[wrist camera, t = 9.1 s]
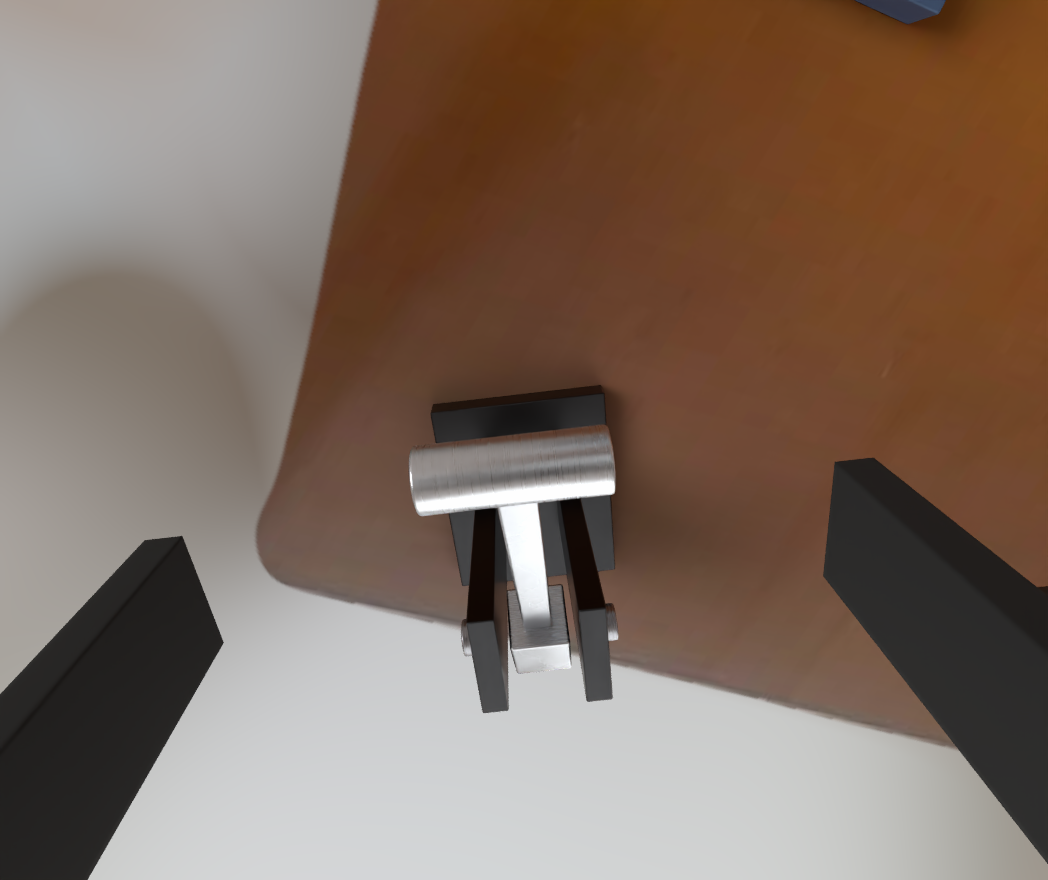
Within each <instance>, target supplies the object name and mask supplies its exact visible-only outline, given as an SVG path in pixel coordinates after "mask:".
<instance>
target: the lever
mask: <svg viewBox="0 0 1048 880" xmlns="http://www.w3.org/2000/svg"><path fill="white" fill-rule="evenodd" d="M409 480H410V488H411V494H412V499H413V503H414V506H415V509H416V511H417V513H418V514H419V515H420V516H427V515H436V514H445V513H454V512H463V511H471V510H480V509H489V508H497V509H498V513H499V518H500V522H501V527H502V532H503V536H504V541H505V545H506V550H507V555H508V559H509V564H510V568H511V573H512V577H513V582H514V587H515V589H513V590H507V608H508V622H509V637H510V649H511V653H512V657H513V660H514V664H515V667H516V671H517V673H519V674H521V673H530V672H539V671H549V670H557V669H567V668H571V650H570V638H569V631H568V623H567V615H566V607H565V599H564V591H563V586H562V585H561V584H558V585H549V586H548V578H547V570H546V561H545V553H544V544H543V536H542V527H541V519H540V510H539V503H543V502H551V501H560V500H569V499H578V498H587V497H596V496H605V495H612V494H614V493H615V489H616V470H615V459H614V452H613V446H612V440H611V436H610V432H609V429H608V427H607V426H606V425H595V426H586V427H577V428H568V429H559V430H551V431H542V432H533V433H524V434H516V435H507V436H498V437H489V438H481V439H472V440H463V441H454V442H445V443H437V444H428V445H419V446H414V447H412V449H411V451H410V456H409Z"/></svg>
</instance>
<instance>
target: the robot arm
mask: <svg viewBox="0 0 1048 880" xmlns="http://www.w3.org/2000/svg"><path fill="white" fill-rule="evenodd" d="M823 576H824V578H825V579H826V580H827V581H828V583H829V584H830V585H831V587H832V588H833V589H834V590H835V592H836V593H837V594H838V596H839V597H840V598H841V599H842V601H843V602H844V603H845V604H846V606H847V607H848V608H849V610H850V611H851V612H852V613H853V615H854V616H855V617H856V619H857V620H858V621H859V622H860V624H861V625H862V626H863V628H864V629H865V630H866V631H867V633H868V634H869V635H870V637H871V638H872V639H873V640H874V642H875V643H876V644H877V646H878V647H879V648H880V649H881V651H882V652H883V653H884V654H885V656H886V657H887V658H888V660H889V661H890V662H891V663H892V665H893V666H894V667H895V669H896V670H897V671H898V672H899V674H900V675H901V676H902V678H903V679H904V680H905V681H906V683H907V684H908V685H909V687H910V688H911V689H912V690H913V692H914V693H915V694H916V696H917V697H918V698H919V699H920V701H921V702H922V703H923V705H924V706H925V707H926V708H927V710H928V711H929V712H930V713H931V715H932V716H933V717H934V719H935V720H936V721H937V722H938V724H939V725H940V726H941V728H942V729H943V730H944V731H945V733H946V734H947V735H948V737H949V738H950V739H951V740H952V742H953V743H954V744H955V746H956V747H957V748H958V749H959V751H960V752H961V753H962V754H963V756H964V757H965V758H966V760H967V761H968V762H969V763H970V765H971V766H972V767H973V769H974V770H975V771H976V772H977V774H978V775H979V776H980V777H981V779H982V780H983V781H984V783H985V784H986V785H987V787H988V788H989V789H990V790H991V792H992V793H993V794H994V795H995V797H996V798H997V799H998V801H999V802H1000V803H1001V804H1002V806H1003V807H1004V808H1005V810H1006V811H1007V812H1008V813H1009V815H1010V816H1011V817H1012V819H1013V820H1014V821H1015V822H1016V824H1017V825H1018V826H1019V828H1020V829H1021V830H1022V831H1023V833H1024V834H1025V835H1026V837H1027V838H1028V839H1029V840H1030V842H1031V843H1032V844H1033V845H1034V847H1035V848H1036V849H1037V850H1038V852H1039V853H1040V855H1041V856H1042V857H1043V858H1044V859H1045V861H1046V862H1047V864H1048V586H1045V587H1036V586H1035V585H1033V584H1032V583H1031V582H1030V581H1028V580H1027V579H1026V578H1025V577H1023V576H1022V575H1021V574H1020V573H1018V572H1017V571H1016V570H1015V569H1013V568H1012V567H1011V566H1009V565H1008V564H1007V563H1006V562H1004V561H1003V560H1002V559H1001V558H999V557H998V556H997V555H996V554H994V553H993V552H992V551H991V550H989V549H988V548H987V547H986V546H984V545H983V544H982V543H980V542H979V541H978V540H977V539H975V538H974V537H973V536H972V535H970V534H969V533H968V532H967V531H965V530H964V529H963V528H962V527H960V526H959V525H958V524H957V523H955V522H954V521H953V520H951V519H950V518H949V517H948V516H946V515H945V514H944V513H943V512H941V511H940V510H939V509H938V508H936V507H935V506H934V505H933V504H931V503H930V502H929V501H928V500H926V499H925V498H924V497H922V496H921V495H920V494H919V493H917V492H916V491H915V490H914V489H912V488H911V487H910V486H909V485H907V484H906V483H905V482H904V481H902V480H901V479H900V478H899V477H897V476H896V475H895V474H893V473H892V472H891V471H890V470H888V469H887V468H886V467H885V466H883V465H882V464H881V463H880V462H878V461H877V460H876V459H875V458H866V459H857V460H848V461H839V462H835V465H834V475H833V485H832V495H831V505H830V515H829V525H828V534H827V544H826V554H825V564H824V574H823ZM223 643H224V642H223V640H222V637H221V635H220V632H219V629H218V627H217V624H216V622H215V619H214V616H213V614H212V611H211V609H210V606H209V604H208V601H207V598H206V596H205V593H204V591H203V588H202V586H201V583H200V580H199V578H198V575H197V573H196V570H195V568H194V565H193V562H192V560H191V557H190V555H189V552H188V550H187V547H186V544H185V542H184V539H183V537H182V536H179V537H171V538H161V539H152V540H145V541H144V542H143V543H142V544H141V545H140V546H139V547H138V548H137V549H136V550H135V551H134V552H133V553H132V554H131V555H130V557H129V558H128V559H127V560H126V561H125V562H124V563H123V564H122V565H121V566H120V567H119V568H118V569H117V570H116V571H115V573H114V574H113V575H112V576H111V577H110V578H109V579H108V580H107V581H106V582H105V583H104V584H103V585H102V586H101V588H100V589H99V590H98V591H97V592H96V593H95V594H94V595H93V596H92V597H91V598H90V599H89V600H88V602H86V603H85V605H84V606H83V607H82V608H81V609H80V610H79V611H78V612H77V613H76V614H75V615H74V616H73V617H72V618H71V619H70V620H69V622H68V623H67V624H66V625H65V626H64V627H63V628H62V629H61V630H60V631H59V632H58V633H57V634H56V636H55V637H54V638H53V639H52V640H51V641H50V642H49V643H48V644H47V645H46V646H45V647H44V648H43V649H42V650H41V651H40V652H39V654H38V655H37V656H36V657H35V658H34V659H33V660H32V661H31V662H30V663H29V664H28V665H27V666H26V668H25V669H24V670H23V671H22V672H21V673H20V674H19V675H18V676H17V677H16V678H15V679H14V680H13V681H12V682H11V683H10V684H9V685H8V687H7V688H6V689H5V690H4V691H3V692H2V693H1V694H0V880H88V878H89V876H90V874H91V873H92V871H93V869H94V867H95V866H96V864H97V862H98V860H99V859H100V857H101V855H102V854H103V852H104V850H105V848H106V847H107V845H108V843H109V841H110V840H111V838H112V836H113V834H114V833H115V831H116V829H117V827H118V826H119V824H120V822H121V821H122V819H123V817H124V815H125V814H126V812H127V810H128V808H129V807H130V805H131V803H132V801H133V800H134V798H135V796H136V794H137V793H138V791H139V789H140V788H141V786H142V784H143V782H144V781H145V779H146V777H147V775H148V774H149V772H150V770H151V768H152V767H153V765H154V763H155V761H156V760H157V758H158V756H159V754H160V753H161V751H162V749H163V747H164V746H165V744H166V742H167V740H168V739H169V737H170V735H171V734H172V732H173V730H174V728H175V726H176V725H177V723H178V721H179V720H180V718H181V716H182V714H183V713H184V711H185V709H186V707H187V706H188V704H189V702H190V700H191V699H192V697H193V695H194V694H195V692H196V690H197V688H198V687H199V685H200V683H201V681H202V680H203V678H204V676H205V674H206V672H207V671H208V669H209V667H210V666H211V664H212V662H213V660H214V659H215V657H216V655H217V653H218V652H219V650H220V648H221V646H222V645H223Z"/></svg>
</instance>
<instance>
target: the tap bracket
mask: <svg viewBox="0 0 1048 880" xmlns="http://www.w3.org/2000/svg"><path fill="white" fill-rule="evenodd" d="M431 419H432V425H433V430H434V435H435V441H436V444H437V443H445V442H454V441H463V440H472V439H481V438H489V437H498V436H507V435H516V434H524V433H533V432H542V431H551V430H559V429H568V428H577V427H586V426H595V425H606V411H605V395H604V392H603V389H602V387H601V385H598V386H589V387H580V388H572V389H563V390H554V391H546V392H537V393H528V394H519V395H511V396H502V397H493V398H485V399H476V400H467V401H459V402H450V403H441V404H434V405H433V406H432V410H431ZM539 510H540V519H541V527H542V536H543V544H544V553H545V561H546V570H547V577H549V576H558V575H567V579H568V586H569V592H570V598H571V605H572V611H573V617H574V624H575V630H576V636H577V643H578V649H579V655H580V662H581V668H582V674H583V681H584V687H585V694H586V700H587V701H588V702H590V701H600V700H609V699H612V697H613V696H612V681H611V667H610V653H609V641H612V640H617V639H618V626H617V619H616V613H615V608H614V605H613V604H612V603H608V604H605V600H604V596H603V592H602V587H601V583H600V579H599V574H598V571H603V570H612V569H615V560H614V543H613V527H612V510H611V495H605V496H596V497H587V498H578V499H569V500H560V501H551V502H543V503H539ZM449 517H450V522H451V528H452V533H453V539H454V544H455V550H456V555H457V560H458V566H459V571H460V577H461V582H462V586H468V585H469V592H468V606H467V619H464V620H462V624H461V638H462V647H463V652H464V655H465V656H472V658H473V663H474V668H475V673H476V678H477V684H478V690H479V695H480V700H481V706H482V710H483V713H489V712H499V711H508V709H509V705H508V632H507V581H513V577H512V573H511V568H510V564H509V559H508V555H507V550H506V545H505V541H504V536H503V532H502V527H501V522H500V518H499V513H498V509H497V508H489V509H480V510H471V511H463V512H454V513H449Z"/></svg>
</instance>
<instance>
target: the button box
mask: <svg viewBox="0 0 1048 880" xmlns="http://www.w3.org/2000/svg"><path fill="white" fill-rule="evenodd" d="M855 1H857V2H859V3H862V4H864V5H866V6H868V7H870V8H873V9H875V10H877V11H879V12H881V13H884V14H886V15H888V16H890V17H892V18H895V19H897V20H899V21H901V22H903V23H906V24H910V23H913V22H916V21H919V20H922V19H925V18H928V17H931V16H934V15H937V14H939V13H940V11H941V9H942V7H943V5H944V3H945V1H946V0H855Z"/></svg>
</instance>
